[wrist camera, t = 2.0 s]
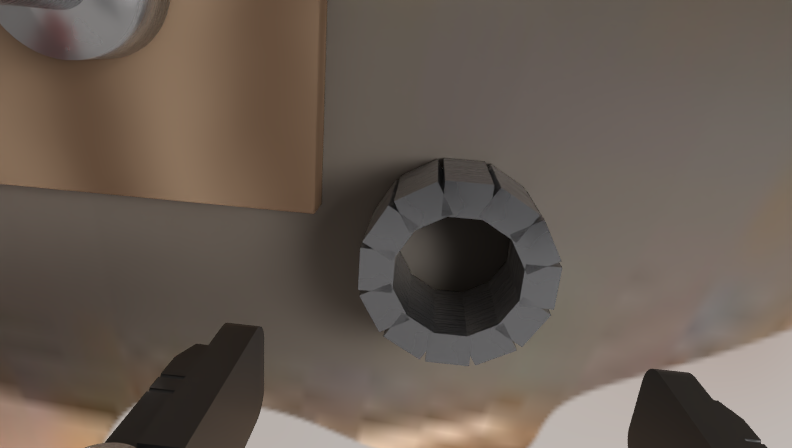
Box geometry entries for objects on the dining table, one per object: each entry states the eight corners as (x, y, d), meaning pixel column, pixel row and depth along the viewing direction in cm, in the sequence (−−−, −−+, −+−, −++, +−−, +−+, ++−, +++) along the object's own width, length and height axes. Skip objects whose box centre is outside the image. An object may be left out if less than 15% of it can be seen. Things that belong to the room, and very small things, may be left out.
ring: (553, 167, 18) (577, 192, 15) (525, 324, 20) (541, 373, 17) (376, 151, 18) (364, 173, 15) (366, 308, 20) (354, 353, 17)
